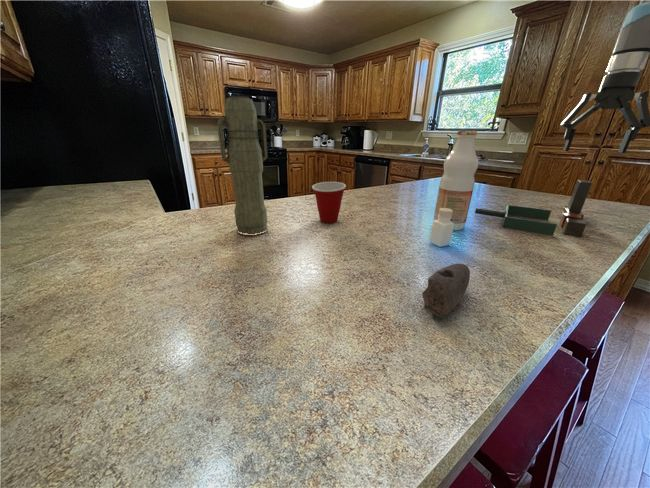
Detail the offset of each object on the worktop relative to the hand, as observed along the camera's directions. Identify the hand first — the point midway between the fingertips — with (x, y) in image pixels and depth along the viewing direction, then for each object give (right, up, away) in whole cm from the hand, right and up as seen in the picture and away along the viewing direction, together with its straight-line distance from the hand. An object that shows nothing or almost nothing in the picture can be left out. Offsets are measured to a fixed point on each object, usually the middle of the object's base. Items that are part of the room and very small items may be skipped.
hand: (592, 151), depth 84 cm
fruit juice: (-45, -24, +1) cm, 51 cm away
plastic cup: (-84, -22, +4) cm, 86 cm away
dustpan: (-22, -21, +6) cm, 31 cm away
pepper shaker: (-54, -29, -13) cm, 63 cm away
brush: (+2, -20, +10) cm, 23 cm away
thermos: (-106, -25, -5) cm, 109 cm away
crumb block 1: (-7, -24, +1) cm, 25 cm away
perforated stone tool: (-63, -40, -37) cm, 83 cm away
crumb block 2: (-11, -26, -4) cm, 28 cm away
